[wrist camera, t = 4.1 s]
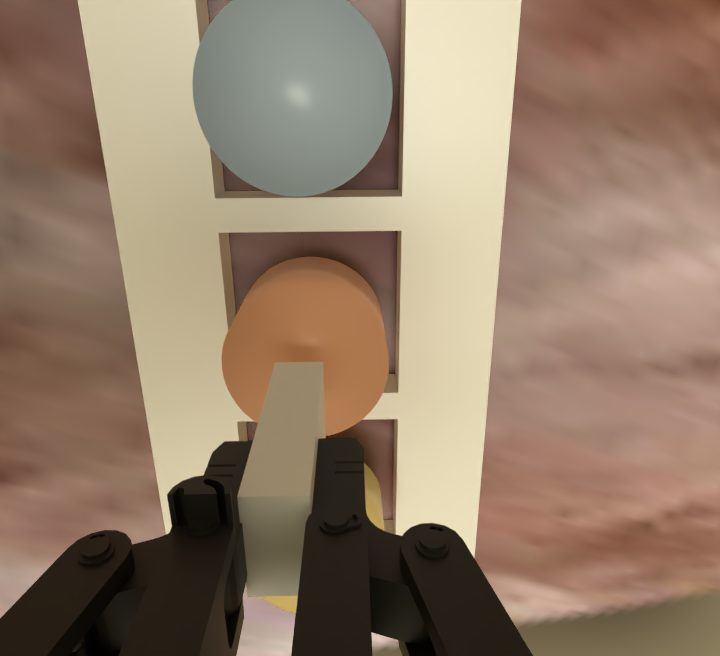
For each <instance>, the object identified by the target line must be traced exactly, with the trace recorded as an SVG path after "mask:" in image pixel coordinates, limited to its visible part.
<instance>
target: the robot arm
mask: <svg viewBox="0 0 720 656" xmlns="http://www.w3.org/2000/svg"><path fill="white" fill-rule="evenodd" d="M167 499H168V505H169V511H170V518H171V524H172V528H171V530H170V532H169V533H168V534H166V535H164V536H162V537H159V538H156V539H153V540H149V541H145V542H141V543H137V544H133V545H132V544H131V540H130V539H129V537H128V536H127V535H126V534H125V533H122V532H119V531H115V530H104V531H100V532H96V533H91V534H89V535H87V536H85V537H83V538H81V539H79V540H77V541H76V542H75V543H74V544H72V545H71V546H70V547H69V548H68V549H67V550H66V551H65V552H64V553H63V554H62V555H61V556H60V557H59V558H58V559H57V560H56V561H55V562H54V563H53V564H52V565H51V566H50V567H49V568H48V569H47V571H46V572H45V573H44V574H43V575H42V576H41V577H40V578H39V579H38V580H37V581H36V582H35V583H34V584H33V585H32V586H31V587H30V588H29V589H28V590H27V591H26V592H25V593H24V594H23V596H22V597H21V598H20V599H19V600H18V601H17V602H16V603H15V604H14V605H13V606H12V607H11V608H10V609H9V610H8V611H7V612H6V613H5V614H4V615H3V616H2V617H1V618H0V656H236V654H237V649H238V644H239V639H240V634H241V629H242V624H243V619H244V608H243V598H242V597H243V593H244V588H245V583H246V585H247V595H248V597H259V596H298V599H297V608H296V617H295V627H294V636H293V645H292V655H291V656H372V638H371V632H373V633H376V634H379V635H383V636H386V637H390V638H393V639H397V640H398V641H399V647H400V650H401V653H402V655H403V656H533V655H532V653H531V652H530V650H529V648H528V647H527V645H526V643H525V642H524V640H523V639H522V637H521V635H520V634H519V632H518V630H517V629H516V627H515V625H514V624H513V622H512V620H511V619H510V617H509V615H508V614H507V612H506V610H505V609H504V607H503V605H502V604H501V602H500V600H499V599H498V597H497V595H496V594H495V592H494V590H493V589H492V587H491V585H490V584H489V582H488V580H487V579H486V577H485V575H484V574H483V572H482V570H481V569H480V567H479V565H478V564H477V562H476V560H475V559H474V557H473V555H472V554H471V552H470V550H469V549H468V547H467V545H466V544H465V542H464V541H463V539H462V538H461V537H460V536H459V535H458V533H457V532H456V531H454V530H452V529H450V528H449V527H447V526H445V525H440V524H436V523H421V524H418V525H415V526H413V527H410V528H409V529H408V530H407V531H406V532H405V533H403V536H400V535H396V534H392V533H389V532H386V531H383V530H382V529H380V528H378V527H376V526H375V525H374V524H373V523H372V522H371V521H370V519H369V518H368V516H367V512H366V500H365V476H364V451H363V447H362V446H361V445H360V444H359V442H358V441H357V440H356V438H326V429H325V400H324V371H323V362H275V365H274V369H273V372H272V376H271V379H270V383H269V386H268V390H267V393H266V397H265V401H264V404H263V408H262V411H261V415H260V418H259V422H258V425H257V429H256V432H255V436H254V439H253V441H224V442H223V443H222V444H221V445H220V446H219V447H218V448H217V449H216V450H214V451H213V452H212V455H211V457H210V460H209V462H208V465H207V467H206V470H205V472H204V475H203V476H195V477H191V478H189V479H186V480H183V481H181V482H180V483H178V484H177V485H175V486H174V487H172V489H171V490H170V491H169V493H168V494H167Z"/></svg>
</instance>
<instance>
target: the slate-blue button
mask: <svg viewBox="0 0 720 656" xmlns="http://www.w3.org/2000/svg"><path fill="white" fill-rule="evenodd" d="M192 86H193V100H194V106H195V111H196V115H197V118H198V121H199V124H200V127H201V129H202V132H203V134H204V136H205V138H206V140H207V142H208V143H209V145H210V147H211V149H212V150H213V151H214V153H215V154H216V155H217V157H218V158H219V159H220V160H221V161H222V162H223V164H224V165H225V166H226V167H227V168H228V169H229V170H230V171H232V172H233V173H234V174H235V175H237V176H238V177H239V178H241V179H242V180H244V181H245V182H247V183H248V184H250V185H252V186H254V187H256V188H258V189H261V190H263V191H266V192H269V193H272V194H277V195H282V196H293V197H301V196H312V195H316V194H321V193H324V192H327V191H330V190H332V189H335V188H337V187H339V186H341V185H342V184H344V183H346V182H347V181H349V180H350V179H352V178H353V177H354V176H356V175H357V174H358V173H359V172H360V171H361V170H362V169H363V168H364V167H365V166H366V165H367V163H368V162H369V161H370V160H371V159H372V157H373V156H374V154H375V153H376V151H377V150H378V148H379V146H380V144H381V142H382V140H383V138H384V136H385V133H386V130H387V127H388V124H389V120H390V115H391V110H392V97H393V91H392V78H391V72H390V66H389V63H388V60H387V56H386V53H385V51H384V48H383V46H382V44H381V42H380V39H379V38H378V36H377V34H376V33H375V31H374V29H373V28H372V26H371V25H370V24H369V22H368V21H367V20H366V19H365V17H364V16H363V15H362V14H361V13H360V12H359V11H358V10H357V9H356V8H355V7H354V6H353V5H352V4H350V3H349V2H348V1H346V0H232V1H230V2H229V3H228V4H227V5H226V6H224V7H223V9H222V10H221V11H220V12H219V13H218V14H217V15H216V16H215V18H214V19H213V20H212V22H211V23H210V25H209V26H208V28H207V30H206V32H205V34H204V36H203V38H202V40H201V42H200V45H199V48H198V51H197V54H196V58H195V63H194V68H193V80H192Z"/></svg>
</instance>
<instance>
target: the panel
mask: <svg viewBox="0 0 720 656" xmlns="http://www.w3.org/2000/svg"><path fill="white" fill-rule="evenodd" d="M78 5H79V11H80V17H81V23H82V29H83V35H84V42H85V48H86V54H87V60H88V66H89V72H90V78H91V84H92V90H93V96H94V102H95V108H96V114H97V120H98V126H99V132H100V138H101V144H102V150H103V156H104V162H105V168H106V174H107V180H108V187H109V193H110V199H111V205H112V211H113V217H114V223H115V229H116V235H117V241H118V247H119V253H120V259H121V265H122V271H123V277H124V283H125V289H126V295H127V301H128V307H129V313H130V319H131V326H132V332H133V338H134V344H135V350H136V356H137V362H138V368H139V374H140V380H141V386H142V392H143V398H144V404H145V410H146V416H147V422H148V428H149V434H150V440H151V446H152V452H153V458H154V464H155V471H156V477H157V483H158V489H159V495H160V501H161V507H162V513H163V519H164V525H165V531H166V534H168V533H169V532H170V530H171V528H172V524H171V518H170V511H169V505H168V499H167V494H168V493H169V491H170V490H171V489H172V487H174V486H175V485H177V484H178V483H180V482H181V481H183V480H186V479H189V478H191V477H195V476H203V475H204V472H205V470H206V467H207V465H208V462H209V460H210V457H211V455H212V452H213V451H214V450H216V449H217V448H218V447H219V446H220V445H221V444H222V443H223V442H224V441H248V436H247V426H246V421H253V420H252V419H251V418H250V417H248V416H247V415H246V414H245V413H244V412H243V411H242V410H241V409H240V408H239V406H238V405H237V404H236V403H235V401H234V400H233V398H232V397H231V395H230V393H229V391H228V389H227V386H226V383H225V380H224V377H223V372H222V359H221V357H222V348H223V344H224V340H225V337H226V335H227V332H228V330H229V328H230V326H231V324H232V322H233V320H234V318H235V316H236V307H235V296H234V285H233V274H232V264H231V253H230V242H229V233H238V232H327V231H398V234H397V292H396V351H395V374H388V379H387V383H386V386H385V389H384V391H383V394H382V396H381V397H380V399H379V401H378V403H377V404H376V405H375V407H374V408H373V409H372V410H371V411H370V412H369V413H368V414H367V416H366V417H364V418H363V419H362V420H367V419H394V469H393V520H384V531H386V532H389V533H392V534H396V535H400V536H403V533H405V532H406V531H407V530H408V529H409V528H410V527H413V526H415V525H418V524H421V523H436V524H440V525H445V526H447V527H449V528H450V529H452V530H454V531H456V532H457V533H458V535H459V536H460V537H461V538H462V539H463V541H464V542H465V544H466V545H467V547H468V549H469V550H470V552H471V554H472V555H473V557H474V555H475V544H476V532H477V520H478V508H479V496H480V484H481V473H482V461H483V449H484V437H485V425H486V413H487V402H488V390H489V378H490V366H491V354H492V343H493V331H494V319H495V307H496V295H497V283H498V272H499V260H500V248H501V236H502V224H503V212H504V201H505V189H506V177H507V165H508V153H509V142H510V130H511V118H512V106H513V94H514V82H515V71H516V59H517V47H518V35H519V23H520V12H521V0H401V57H400V116H399V175H398V189H396V190H330V191H327V192H324V193H321V194H316V195H312V196H301V197H293V196H282V195H277V194H272V193H269V192H266V191H225V188H224V177H223V166H222V161H221V160H220V159H219V158H218V157H217V155H216V154H215V153H214V151H213V150H212V149H211V147H210V145H209V143H208V142H207V140H206V138H205V136H204V134H203V132H202V129H201V127H200V124H199V121H198V118H197V115H196V111H195V106H194V100H193V86H192V80H193V68H194V63H195V58H196V54H197V51H198V48H199V45H200V42H201V40H202V38H203V36H204V34H205V32H206V30H207V28H208V26H209V15H208V4H207V0H78Z"/></svg>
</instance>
